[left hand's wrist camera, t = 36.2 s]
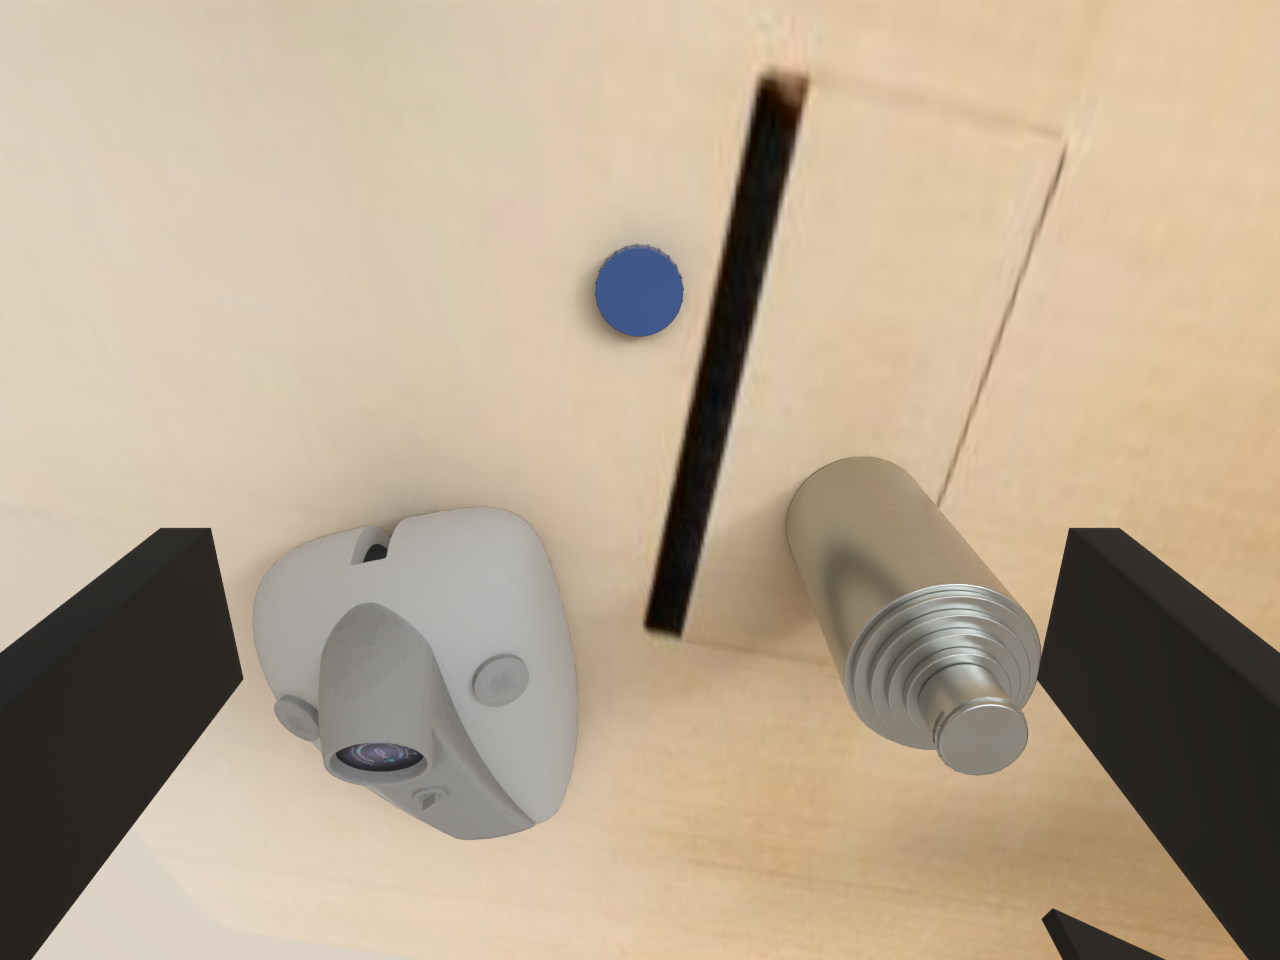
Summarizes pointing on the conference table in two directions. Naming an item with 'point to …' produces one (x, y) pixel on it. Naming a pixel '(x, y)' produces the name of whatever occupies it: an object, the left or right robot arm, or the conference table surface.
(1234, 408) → the conference table surface
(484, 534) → the projector
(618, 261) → the cap
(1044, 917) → the right robot arm
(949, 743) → the bottle
